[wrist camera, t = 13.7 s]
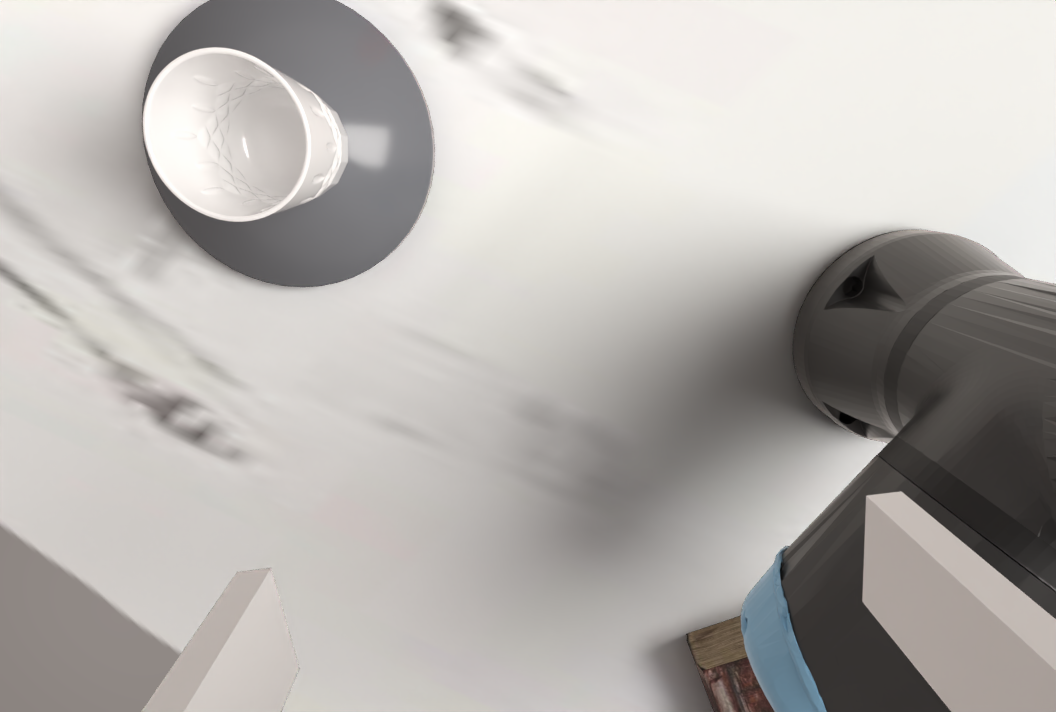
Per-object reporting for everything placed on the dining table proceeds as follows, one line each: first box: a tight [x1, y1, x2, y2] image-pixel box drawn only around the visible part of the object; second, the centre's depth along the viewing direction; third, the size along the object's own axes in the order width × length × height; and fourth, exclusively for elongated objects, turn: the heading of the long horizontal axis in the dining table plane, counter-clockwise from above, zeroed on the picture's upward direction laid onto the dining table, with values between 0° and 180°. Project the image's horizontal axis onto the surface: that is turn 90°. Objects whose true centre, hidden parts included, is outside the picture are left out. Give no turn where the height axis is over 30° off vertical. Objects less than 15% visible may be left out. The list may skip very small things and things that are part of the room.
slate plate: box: [142, 0, 435, 287], centre depth 40 cm, size 18×18×2 cm
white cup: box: [143, 47, 348, 222], centre depth 35 cm, size 8×8×10 cm
